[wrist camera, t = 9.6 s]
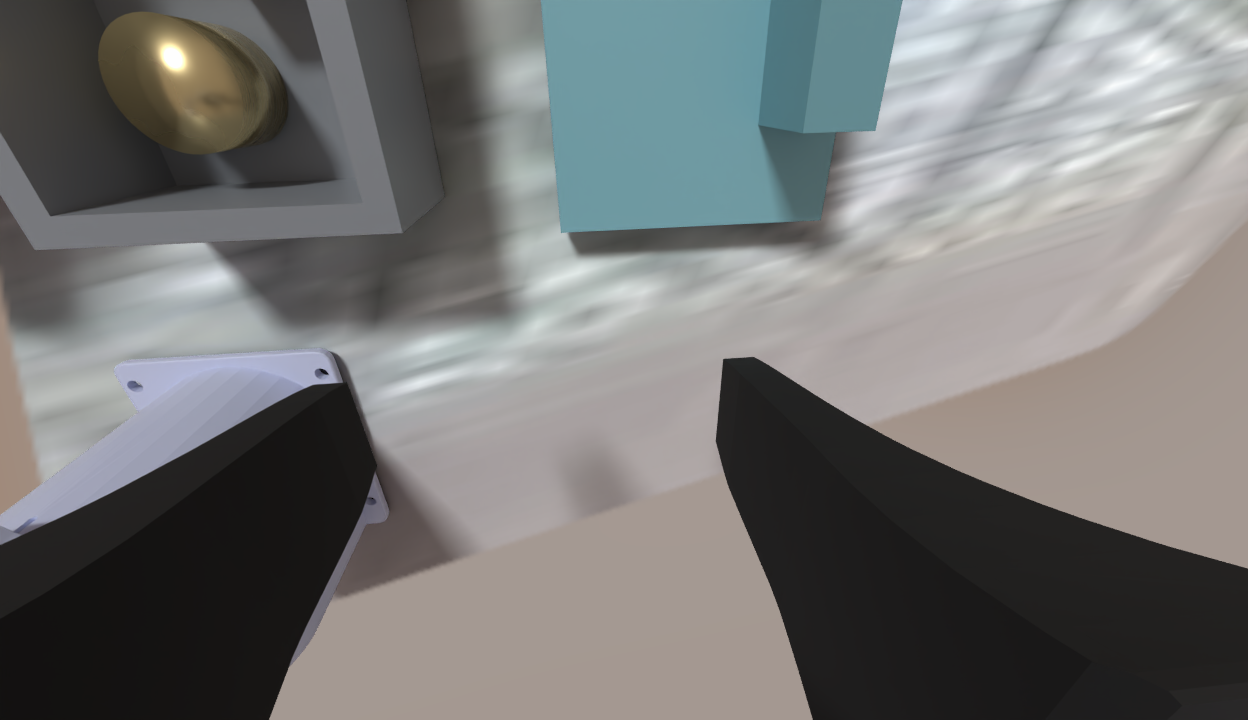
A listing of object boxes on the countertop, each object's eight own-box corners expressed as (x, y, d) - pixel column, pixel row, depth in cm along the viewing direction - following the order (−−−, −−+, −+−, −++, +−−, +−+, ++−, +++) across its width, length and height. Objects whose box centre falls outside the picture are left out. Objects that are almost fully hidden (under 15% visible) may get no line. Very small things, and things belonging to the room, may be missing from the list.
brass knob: (303, 144, 15) (262, 152, 13) (197, 147, 15) (138, 156, 13) (265, 22, 14) (211, 10, 12) (146, 24, 14) (70, 12, 12)
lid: (802, 210, 19) (872, 247, 15) (561, 221, 18) (559, 263, 14) (866, -210, 13) (1012, -358, 9) (524, -217, 13) (499, -380, 8)
